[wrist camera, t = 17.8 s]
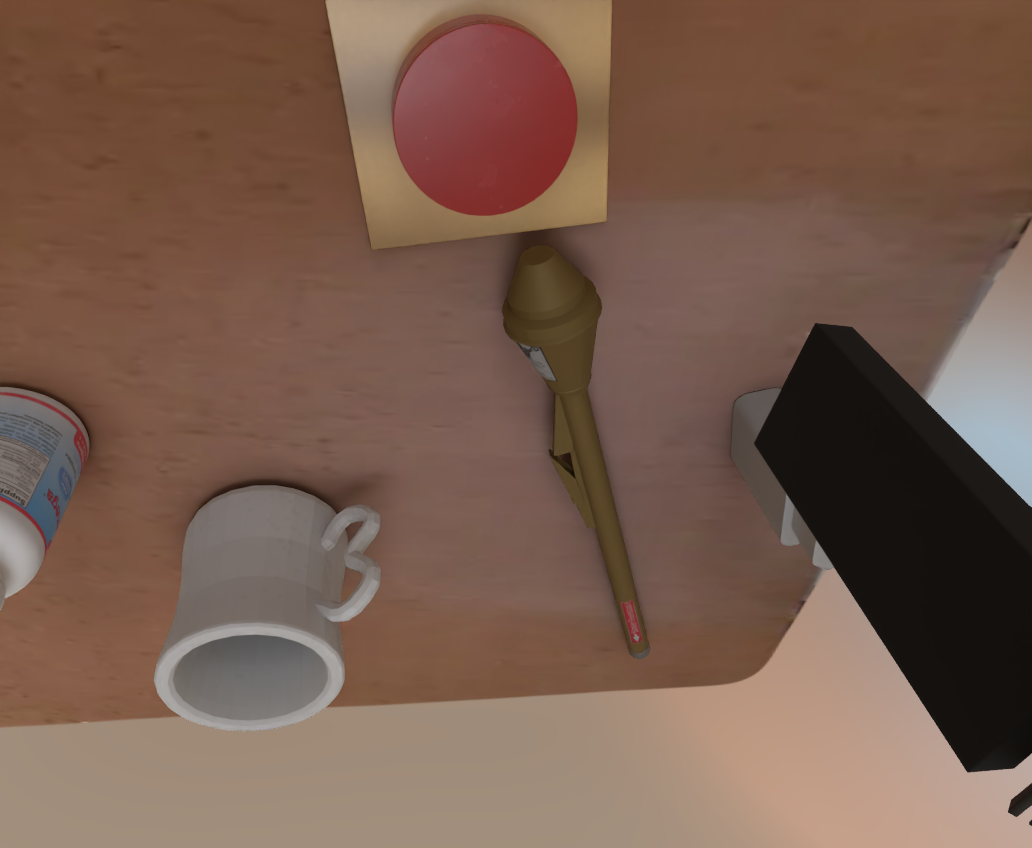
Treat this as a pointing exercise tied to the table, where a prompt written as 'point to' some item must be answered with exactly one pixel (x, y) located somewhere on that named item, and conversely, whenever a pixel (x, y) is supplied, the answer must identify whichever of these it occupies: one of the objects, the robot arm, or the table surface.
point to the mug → (264, 608)
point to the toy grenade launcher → (573, 403)
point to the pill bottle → (34, 479)
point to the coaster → (367, 99)
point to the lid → (483, 115)
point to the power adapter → (768, 475)
